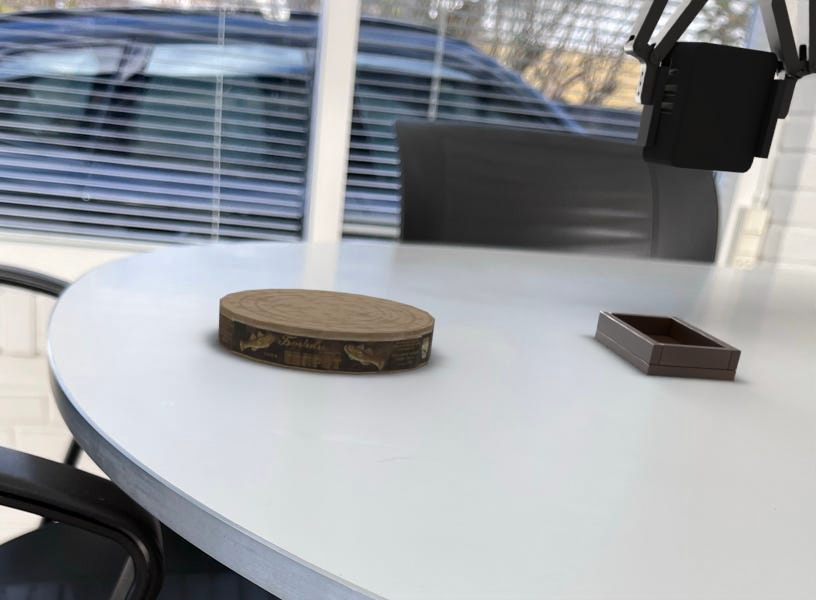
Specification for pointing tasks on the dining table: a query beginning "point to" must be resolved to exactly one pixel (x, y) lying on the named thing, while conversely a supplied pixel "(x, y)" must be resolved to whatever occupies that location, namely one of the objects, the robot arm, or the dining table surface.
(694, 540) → the dining table surface
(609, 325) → the brown box
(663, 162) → the electronic device
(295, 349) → the tin can
